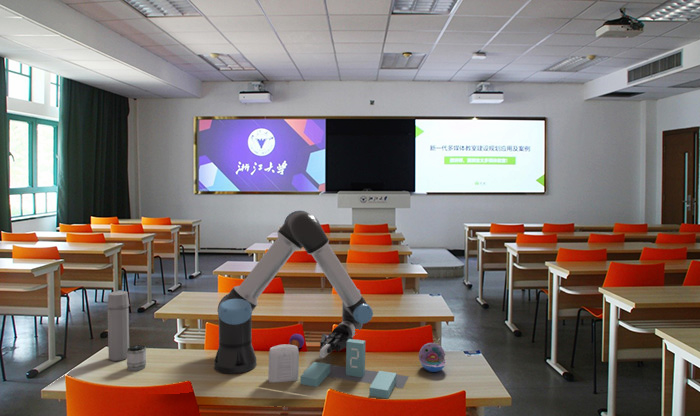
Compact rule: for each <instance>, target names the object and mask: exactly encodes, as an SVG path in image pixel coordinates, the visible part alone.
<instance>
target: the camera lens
mask: <svg viewBox="0 0 700 416" xmlns="http://www.w3.org/2000/svg"><path fill="white" fill-rule="evenodd" d="M146 363H147V348H146V346H144V345H141V344H134V345H132V346H129V348H128V349H127V358H126V364H127V365H126V367H127V370H128V371H129V372H139V371H142V370H145V368H146V365H147V364H146Z"/></svg>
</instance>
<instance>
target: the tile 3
mask: <svg viewBox="0 0 700 416" xmlns="http://www.w3.org/2000/svg"><path fill="white" fill-rule="evenodd" d="M377 372H378V374H377V376H376V377H375V379H374V381H373V382H372V384H371V383H370V386H369V396H371V397H375V398H376V397H377V398H383V399H389V397H390V395H391V394H392V392H393V390H394V388H395V387H394V386H395V384H396V382H397V375H398V373H397V372H390V371H384V370H379V371H377Z"/></svg>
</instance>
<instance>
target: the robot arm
mask: <svg viewBox="0 0 700 416" xmlns="http://www.w3.org/2000/svg"><path fill="white" fill-rule="evenodd" d="M329 242H330V239H329V237H328V236H327V234H326V233H325V230H324V229H323V227H322V225H321V223H320V222H319V220H318V218H317V217H316V216H314V215H313V214H312V213H309V212H307V211H305V210H294V211H292V212H291V213H289V214H288V215H287V216H286V218H285V220H284V222H283V223H282V225H281V226H280V228H279V229H278V230H277V238H276V239H275V240H274V242H273V243H272V245H271V246H270V247H269V249H268V250H267V251H266V252H265V253H264V255H263V256H262V257H261V258H260V260H259V261H258V262H257V263H256V265H255V266H254V267H253V269H252V270H251V271H250V272H249V273H248V275H247V276H246V277H245V278H244V280H243V281H242V282H241V284H239V285H236V286H233V287H232V289H231V290H230V291H229V292H228V294H226V295H224V296H223V297H222V298H221V299H220V301H219V303H218V305H217V318H218V349H217V351H216V354H215V357H214V361H213V369H214V370H215V371H217V372H218V373H222V374H227V375H228V374H229V375H235V374H236V375H237V374H243V373H246V372H250V371H251V370H253V369H255V367H256V366H257V356H256V352H255V350H254V347H253V344H252V343H253V340H252V336H253V335H252V334H253V333H252V326H253V325H252V321H253V320H252V314H253V311H254V310H255V308H256V307H257V306H258V305H259V303H258V298H259V297H260V296H261V295H262V293H263V292H264V291H265V289H266V288H267V287H268V286H269V285H270V283H271V282H272V281H273V279H274V278H275V276H277V275H278V273H279V271H281V269H282V268H283V267H284V265H285V264H286V263H287V261H288V260H289V259H290V257H291V256H292V255H293V254H294V252H297V251H301V249H302V248H303V249H304V251H305V252H306V253H307V255H311V256H312V257H313V259H314V261H315V262H316V263H317V265H318V266H319V268H320V269H321V271H322V272H323V274H324V275H325V277H326V279H327V280H328V281H329V283H330V285H331V286H332V288H334V289H333V290H334V291H335V292H336V294H337V295H338V296H339V297H340V300H341V302H342V305H341V306H342V309H341V310H342V315H341V316H342V317H341V319H342V320H341V322H340V323H339V324H338V325H337V326H335V328H333V330H332V332H331V333H328V334H325V333H321V339H320V342H319V345H320V348H319V358H320V359H321V358H322V359H324V358H326V356H328V354H331V353H333V352H334V351H336V352H340V351H341V350H344V349H346V343H347V341H348V340H349V339H354V336H355V335H356V334H355V332H356V331H355V329H359V330H360V331H361V329H362V327H363V324H367V323H369V322H370V321H371V320H372V318H373V316H374V312H373V309H372V306H371V305H369V304H368V303H367V301H366V300H365V298H364V297H363V295H362V294H361V290H360V289H359V288H357V286H356V285H355V283H354V281H353V280H352V278H351V277H350V275H349V273H348V272H347V270H346V268H345V267H344V265H342V263H341V261H340V259H339V257H337V255H336V253H335V252H334V250H333V249H332V247H331V245H330V244H329Z"/></svg>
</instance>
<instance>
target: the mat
mask: <svg viewBox="0 0 700 416" xmlns="http://www.w3.org/2000/svg"><path fill="white" fill-rule="evenodd" d="M314 362H315V361H314ZM314 362H313V363H314ZM313 363H311V364H310V365H309V366H308V367H307V368H306V369H304V371H303V372H302V374H303V373H304V372H305V371H306V370H307V369H308V368H309V367H310V366H311V365H312V364H313ZM378 372H379V371H374V370H369V369H365V375H364V376H363V377H356V376H350V375H346V366H340V365H334V364H330V373H329V374H328V375H327V377H326V378H334V379H339V380H347V381H351V382H353V381H354V382H358V383H364V384H365V383H366V384H370V385H371V384H372V382H373V381H374V379H375V377H376V376H377V374H378ZM409 377H410V376H409V375H404V374H397V382H396V384H395V386H394V388H397V389H404V387H405V386H406V383H407V381H408V380H409Z"/></svg>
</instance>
